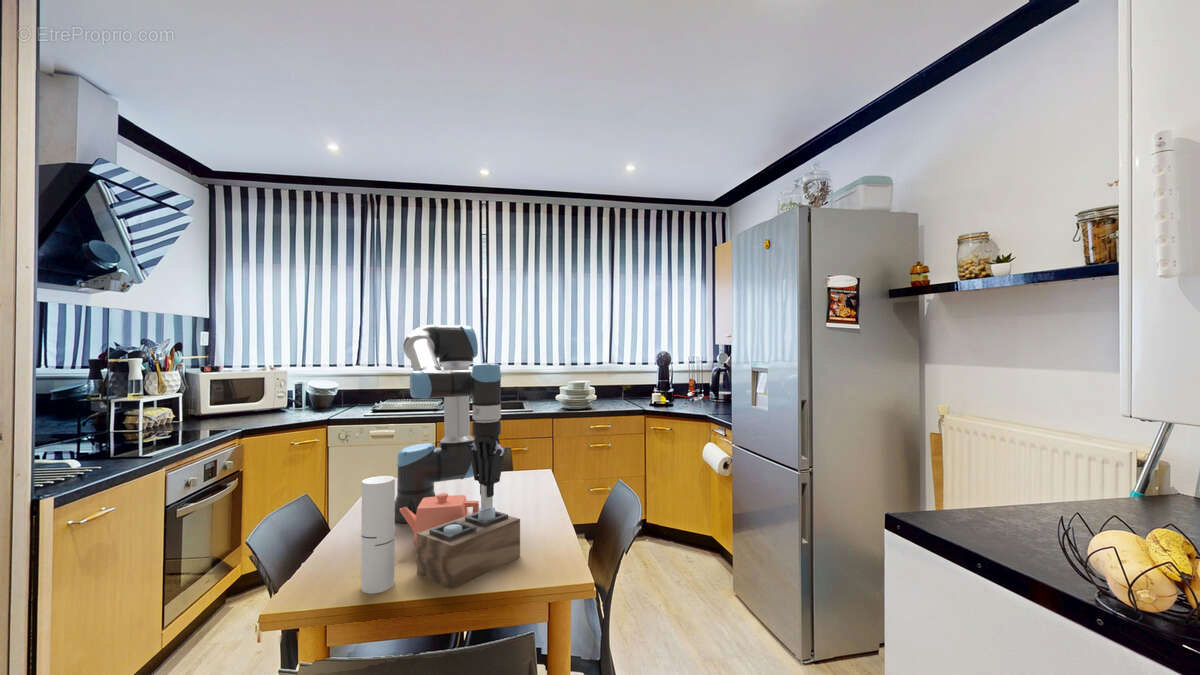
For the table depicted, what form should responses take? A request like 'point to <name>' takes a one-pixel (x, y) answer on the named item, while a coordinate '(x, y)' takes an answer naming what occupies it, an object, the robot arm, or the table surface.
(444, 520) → the teapot
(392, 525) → the cylindrical container
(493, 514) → the peg rear
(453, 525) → the peg front
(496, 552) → the wooden peg block
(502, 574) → the table surface
